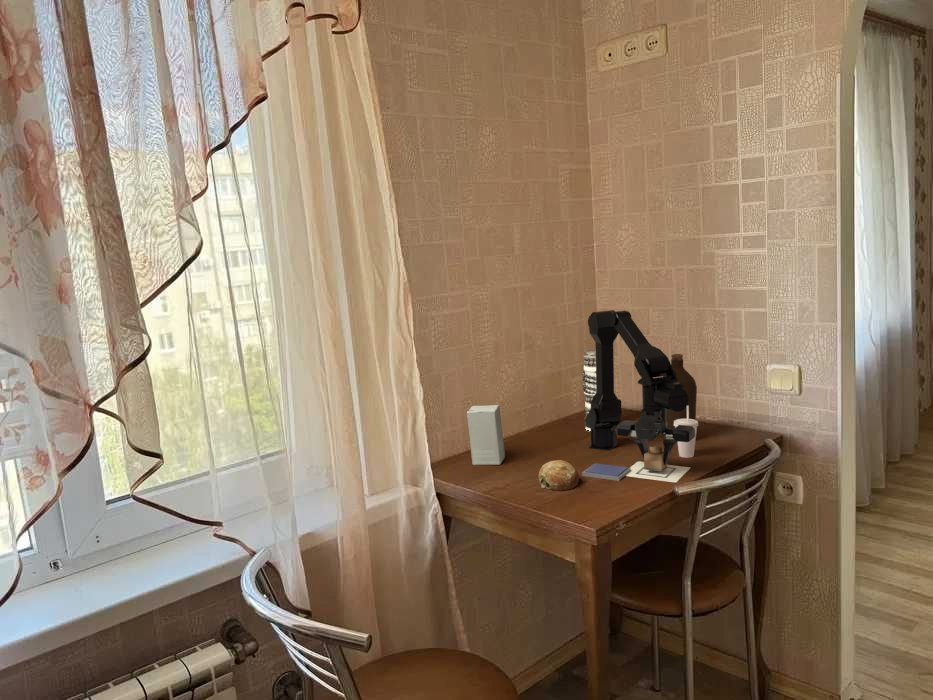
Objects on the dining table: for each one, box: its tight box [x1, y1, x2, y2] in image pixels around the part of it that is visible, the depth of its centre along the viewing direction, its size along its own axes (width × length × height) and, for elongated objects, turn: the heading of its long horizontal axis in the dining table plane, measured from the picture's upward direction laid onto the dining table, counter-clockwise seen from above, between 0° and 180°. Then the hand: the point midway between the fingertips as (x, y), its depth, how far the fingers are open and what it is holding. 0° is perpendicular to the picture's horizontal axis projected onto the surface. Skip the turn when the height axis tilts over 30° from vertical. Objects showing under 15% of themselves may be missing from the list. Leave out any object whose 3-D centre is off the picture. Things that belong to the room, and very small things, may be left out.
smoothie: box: [674, 406, 699, 459], centre depth 194 cm, size 6×6×14 cm
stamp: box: [643, 445, 668, 471], centre depth 183 cm, size 4×4×6 cm
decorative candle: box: [581, 349, 596, 432], centre depth 226 cm, size 9×9×25 cm
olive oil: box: [661, 353, 698, 441], centre depth 210 cm, size 11×11×25 cm
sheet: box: [624, 460, 691, 483], centre depth 184 cm, size 14×12×1 cm
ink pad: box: [581, 463, 631, 482], centre depth 185 cm, size 10×8×1 cm
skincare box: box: [466, 404, 506, 466], centre depth 200 cm, size 8×7×16 cm
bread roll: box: [537, 459, 580, 492], centre depth 179 cm, size 10×10×8 cm
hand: (655, 463), depth 183 cm, fingers closed on stamp, 4 cm apart
